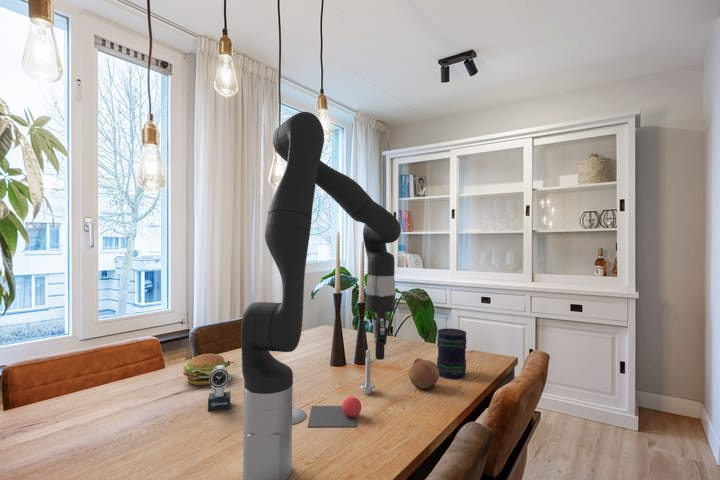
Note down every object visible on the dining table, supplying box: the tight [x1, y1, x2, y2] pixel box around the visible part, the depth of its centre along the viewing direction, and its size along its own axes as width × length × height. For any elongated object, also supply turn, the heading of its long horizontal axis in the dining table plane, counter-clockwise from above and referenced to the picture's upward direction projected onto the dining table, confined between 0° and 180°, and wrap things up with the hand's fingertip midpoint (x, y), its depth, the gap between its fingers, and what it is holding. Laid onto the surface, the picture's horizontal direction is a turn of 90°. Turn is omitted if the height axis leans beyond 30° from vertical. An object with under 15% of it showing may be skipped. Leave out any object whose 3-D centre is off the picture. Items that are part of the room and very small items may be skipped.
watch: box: [207, 365, 232, 412], centre depth 106 cm, size 6×8×11 cm
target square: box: [307, 405, 358, 428], centre depth 101 cm, size 12×12×1 cm
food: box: [183, 353, 231, 386], centre depth 127 cm, size 14×14×8 cm
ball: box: [341, 396, 362, 418], centre depth 101 cm, size 5×5×5 cm
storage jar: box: [436, 328, 467, 381], centre depth 135 cm, size 10×10×15 cm
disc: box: [292, 407, 307, 425], centre depth 101 cm, size 10×10×1 cm
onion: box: [408, 357, 440, 390], centre depth 122 cm, size 10×9×10 cm
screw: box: [359, 349, 377, 395], centre depth 118 cm, size 13×5×5 cm
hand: (379, 358), depth 102 cm, fingers closed
